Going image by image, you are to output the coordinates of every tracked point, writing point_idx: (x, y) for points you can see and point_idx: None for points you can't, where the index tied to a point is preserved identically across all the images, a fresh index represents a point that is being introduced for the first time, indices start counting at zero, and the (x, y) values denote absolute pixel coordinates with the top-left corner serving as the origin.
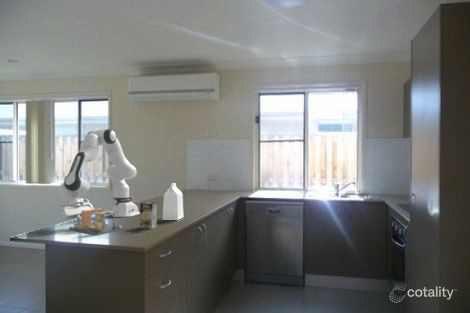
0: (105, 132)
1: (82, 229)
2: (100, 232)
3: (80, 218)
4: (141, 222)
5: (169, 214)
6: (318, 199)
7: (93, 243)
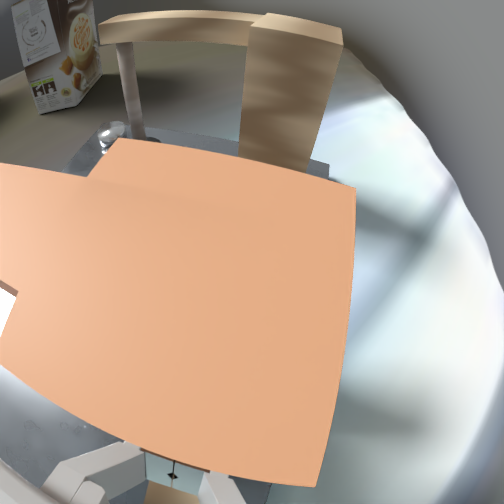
0: None
1: None
2: None
3: (233, 482)
4: (76, 75)
5: None
6: None
7: (423, 134)
